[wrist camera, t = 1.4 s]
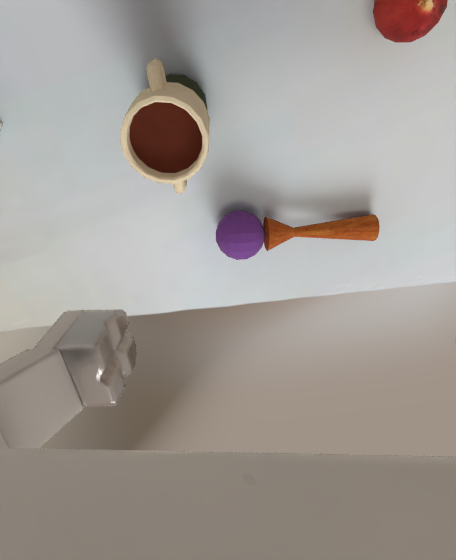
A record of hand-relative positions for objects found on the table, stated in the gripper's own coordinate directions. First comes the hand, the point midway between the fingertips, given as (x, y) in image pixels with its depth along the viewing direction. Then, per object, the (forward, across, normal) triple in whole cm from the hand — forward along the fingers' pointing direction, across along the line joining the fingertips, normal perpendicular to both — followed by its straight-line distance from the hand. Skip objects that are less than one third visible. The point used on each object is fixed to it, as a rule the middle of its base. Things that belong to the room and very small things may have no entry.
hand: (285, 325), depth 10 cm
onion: (+38, -11, -9) cm, 41 cm away
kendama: (+40, -1, +13) cm, 42 cm away
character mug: (+37, +10, -2) cm, 38 cm away
